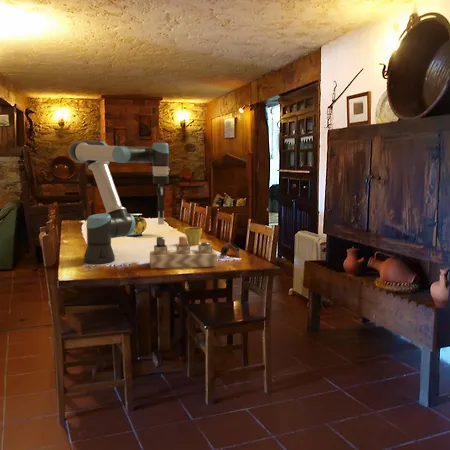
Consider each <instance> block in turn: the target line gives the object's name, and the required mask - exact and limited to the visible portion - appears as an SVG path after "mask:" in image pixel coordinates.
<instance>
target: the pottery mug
mask: <svg viewBox="0 0 450 450" xmlns="http://www.w3.org/2000/svg"><path fill="white" fill-rule="evenodd" d="M229 250H231V251H234V252H235V257H236V258H237V257H238V256H239V254H240V247H238V245H236V244H235V243H233V242H228V243H226V244H224V245H223V246H222V247H221V248H220V256H221V255H222V257H223V256H227V254H228V252H229Z"/></svg>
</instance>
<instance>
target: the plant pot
mask: <svg viewBox="0 0 450 450" xmlns="http://www.w3.org/2000/svg"><path fill="white" fill-rule="evenodd" d="M184 234H185V237H187V244H189V246H197V245H198V244H200V243H201V242H200V240H201V236H202V234H203V228H202V227H197V226H188V227H185V228H184Z"/></svg>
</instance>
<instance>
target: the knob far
mask: <svg viewBox="0 0 450 450" xmlns="http://www.w3.org/2000/svg"><path fill="white" fill-rule="evenodd" d="M200 244H201V246H209V244H210V242H207V241H205V242H204V241H203V242H200Z"/></svg>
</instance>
